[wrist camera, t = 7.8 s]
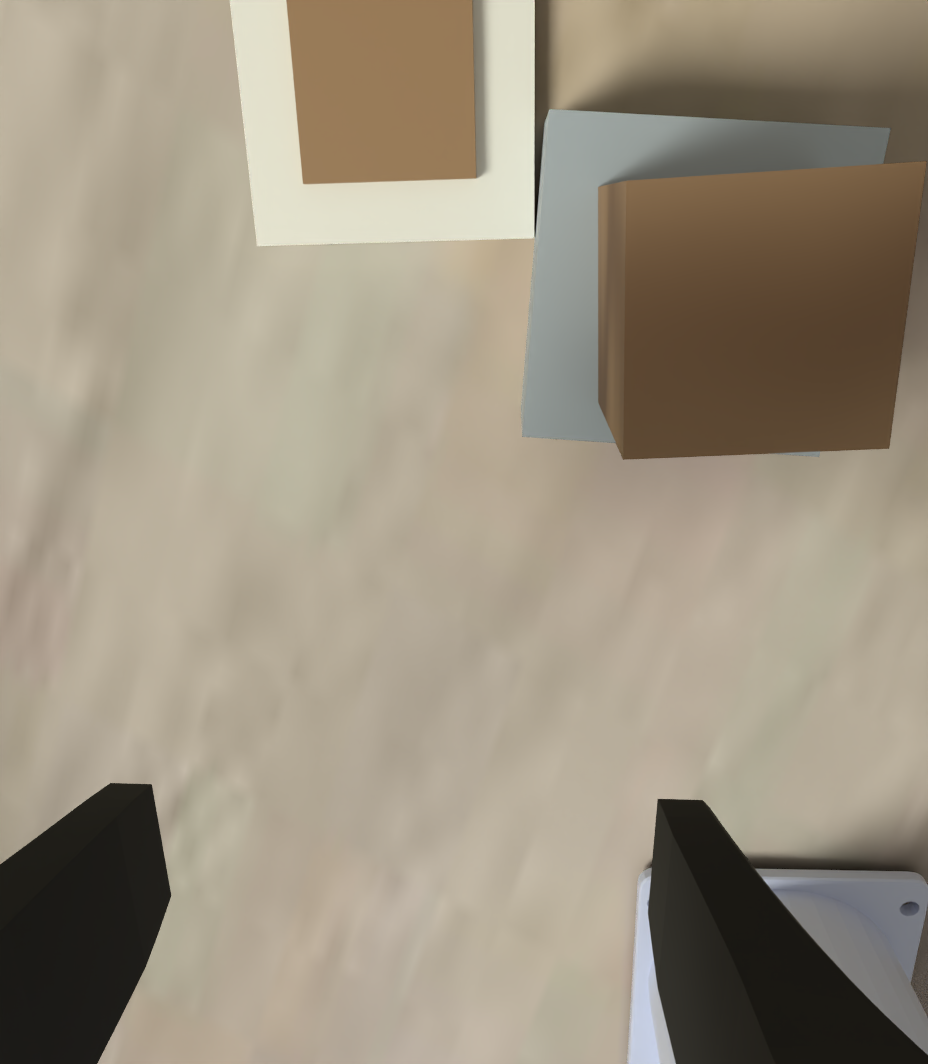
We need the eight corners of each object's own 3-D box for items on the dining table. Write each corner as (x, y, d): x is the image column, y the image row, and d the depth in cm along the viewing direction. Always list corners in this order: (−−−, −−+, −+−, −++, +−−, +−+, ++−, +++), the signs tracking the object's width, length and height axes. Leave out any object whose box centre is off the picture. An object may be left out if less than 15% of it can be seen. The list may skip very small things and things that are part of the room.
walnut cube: (802, 393, 16) (889, 448, 13) (598, 402, 17) (623, 459, 13) (823, 172, 15) (927, 160, 11) (598, 186, 15) (626, 180, 11)
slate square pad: (775, 421, 20) (818, 457, 17) (520, 405, 20) (522, 436, 17) (830, 142, 17) (891, 128, 15) (543, 125, 18) (549, 109, 15)
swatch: (534, 237, 18) (534, 238, 17) (262, 245, 18) (253, 246, 18) (534, -95, 16) (535, -108, 15) (227, -79, 16) (214, -91, 16)
